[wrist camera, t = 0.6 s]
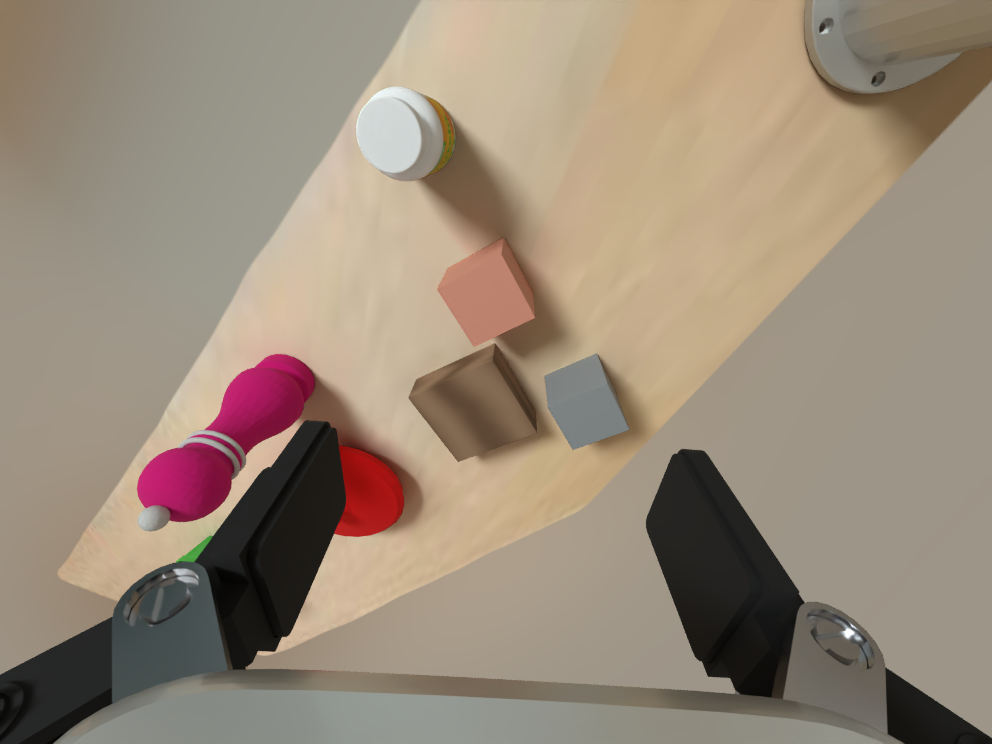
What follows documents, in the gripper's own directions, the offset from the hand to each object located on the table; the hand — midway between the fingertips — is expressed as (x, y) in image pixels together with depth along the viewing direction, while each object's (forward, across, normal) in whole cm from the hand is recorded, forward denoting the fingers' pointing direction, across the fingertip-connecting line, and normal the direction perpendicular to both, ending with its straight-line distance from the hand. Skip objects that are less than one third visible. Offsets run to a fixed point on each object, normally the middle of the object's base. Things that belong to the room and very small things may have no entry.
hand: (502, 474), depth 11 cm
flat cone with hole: (+31, +17, +32) cm, 48 cm away
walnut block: (+30, +1, +17) cm, 34 cm away
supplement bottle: (+29, +7, -8) cm, 31 cm away
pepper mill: (+30, +23, +17) cm, 41 cm away
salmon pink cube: (+29, +1, +3) cm, 29 cm away
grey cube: (+29, -10, +14) cm, 33 cm away
